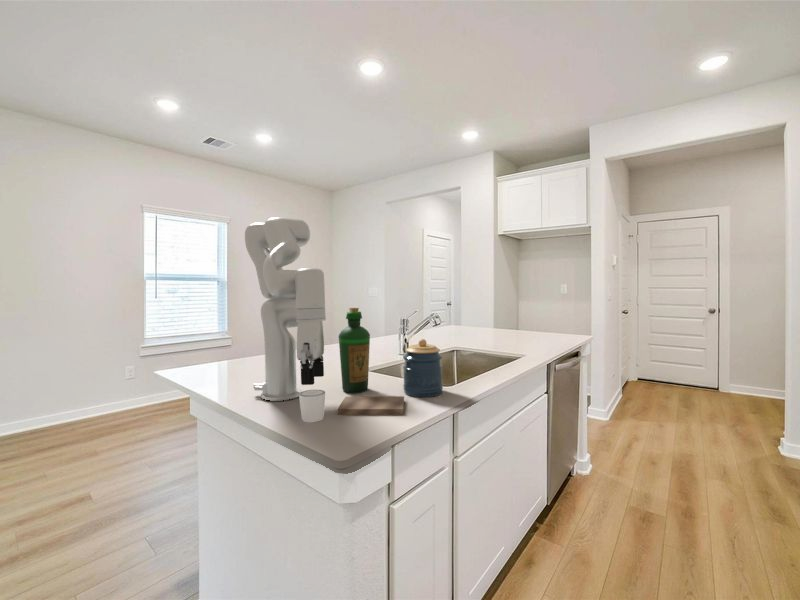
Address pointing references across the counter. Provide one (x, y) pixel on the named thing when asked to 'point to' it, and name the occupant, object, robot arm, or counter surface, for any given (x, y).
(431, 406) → the counter surface
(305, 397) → the shot glass
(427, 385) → the canister
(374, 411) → the walnut board
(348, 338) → the bottle
